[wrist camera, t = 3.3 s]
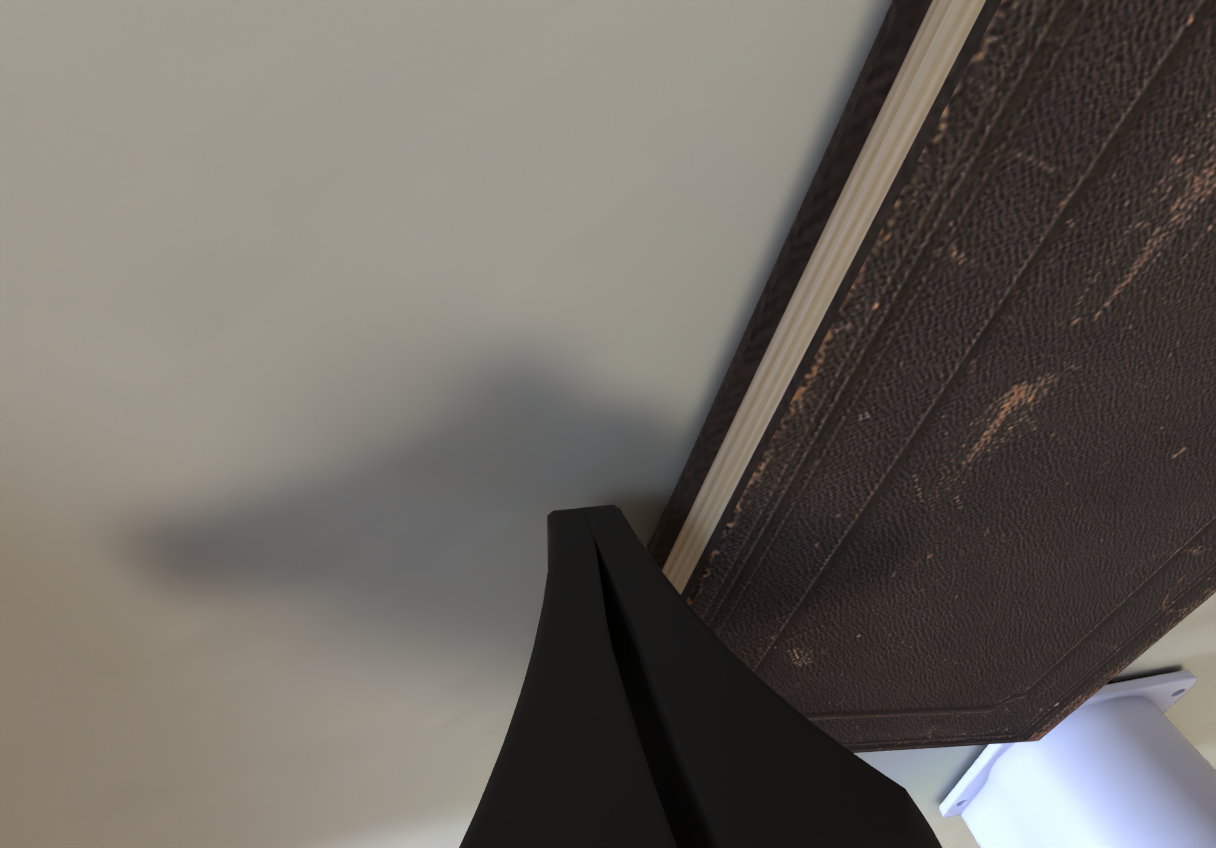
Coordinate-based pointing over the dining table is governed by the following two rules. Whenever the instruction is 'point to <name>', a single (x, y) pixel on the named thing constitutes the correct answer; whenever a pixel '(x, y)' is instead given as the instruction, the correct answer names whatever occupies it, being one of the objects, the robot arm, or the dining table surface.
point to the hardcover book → (975, 382)
